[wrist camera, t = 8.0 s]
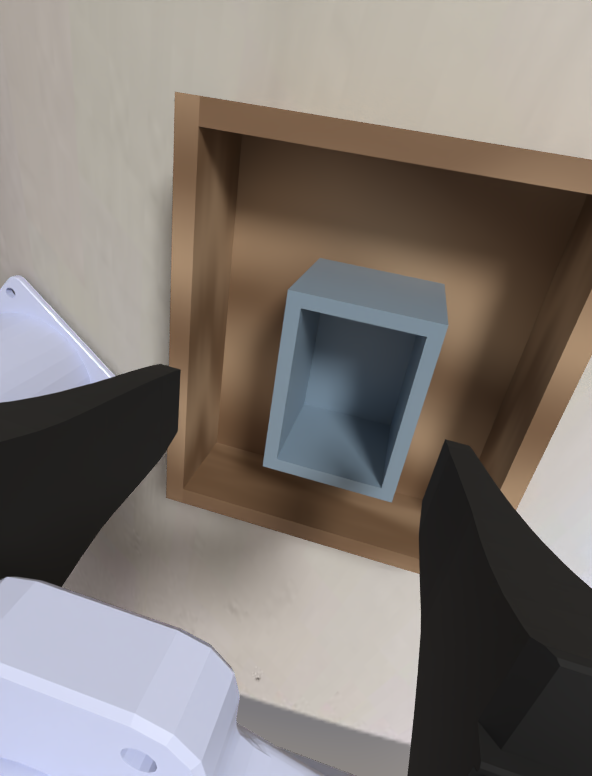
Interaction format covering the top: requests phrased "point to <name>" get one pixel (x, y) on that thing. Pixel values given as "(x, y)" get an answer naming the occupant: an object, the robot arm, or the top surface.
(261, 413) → the big crate
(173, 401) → the robot arm
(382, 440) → the small crate
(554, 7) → the top surface
